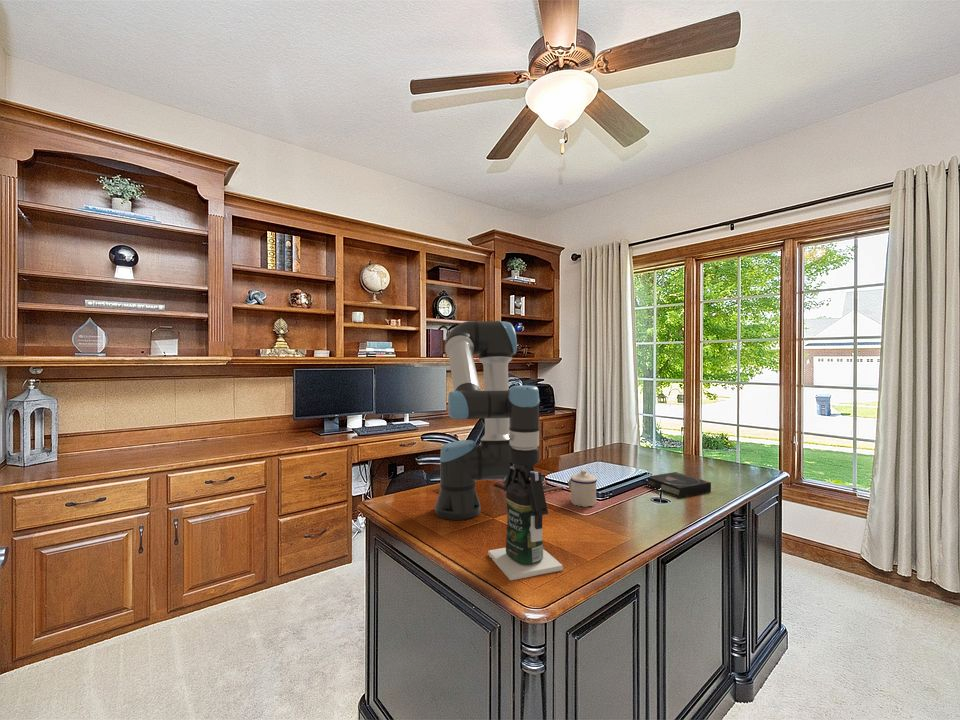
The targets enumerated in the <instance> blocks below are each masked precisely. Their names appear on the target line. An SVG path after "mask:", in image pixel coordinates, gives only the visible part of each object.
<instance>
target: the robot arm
mask: <svg viewBox="0 0 960 720" xmlns="http://www.w3.org/2000/svg"><path fill="white" fill-rule="evenodd" d="M517 346H518V341H517V333H516V329H515V327H514V326H513V324H512V323H511V322H508V321H500V320H484V321H482V320H475V321H474V320H469V321H463V322H461V323H459V324H457V325H455V326H454V327H452V329H451V330H450V331H449V332H448V334H447V336H446V338H445V341H444V351H445V355H447V357H448V358H449V365H450V366H449V367H450V371H451V372H450V373H451V374H450V375H451V381H452V390H453V391H450V392H449V393H448V395H447V407H448V408H447V410H448V411H447V412H448V416H449V418H450V419H453V420H457V419H458V420H459V419H461V420H475V419H476V420H477V419H480V420H482V419H484V435H482V437H481V438H480V444H476V442H475V441H474V440H472V439H462V440H456V441H451V442H448V443H445V444H444V445H442V447H440V458H439V462H440V468H439V469H440V471H439V472H440V474H439V475H440V479H439V480H440V482H439V483H440V485H439V487H440V488H439V493H438V496H437V499H436V502H435V506H434V513H436V514H435V515H436V516H437V517H439V518H441V519H444V520H452V521H462V520H464V521H465V520H468V519H472V518H475V517H477V516H478V515H480V513H481V502H480V500H479V497H478V493H477V490H476V481H492V480H500V481H503V480H505V485H504V488H503V491H504V492H505V493H506V492H507V487H508V486H509V484H512V483H517V482H519V483H521V484H522V485H523V488H524V489H525V490H526V492H527V493H528V499H529V502H530V505H531V509H532V513H531V514H530V515H531V542H537V541H542V539H543V516H544V515H545V516H546V515H548V514H549V510H548V506H547V500H546V494H544V490H543V486H542V479H541V473H542V472H541V471H535V465H536V464H538V463H539V462H540V449H539V446H540V402H541V399H540V393H539V392H540V391H539V388H538V387H537V386H536V385H529V384H528V385H526V384H525V385H523V384H522V385H519V384H518V385H512V386H510V387H509V383H510V382H509V363H510V362H511V361H512V360H513V356H514V355H516V353H517V350H518V348H517ZM474 355H477V356H478V360H479V362H480V363H481V364H482V365H483V367H482V368H483V390H481V386H480V382H479V377H478V373H477V368H476V363H475V359H474Z"/></svg>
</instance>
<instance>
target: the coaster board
mask: <svg viewBox="0 0 960 720" xmlns="http://www.w3.org/2000/svg"><path fill="white" fill-rule="evenodd" d="M487 555H488V556H489V558H490V559H491V558H492V559H491V561H493V562H494V563H495V565H497V567H498V568H499V570H501V571H502V572H503V573H502V574H504V575H505V576H506V577H507V578H508V580H509V581H515V580H520V579H526V578H530V577H531V578H532V577H535V576H541V575H544V574H550V573H555V572H561V571H563V569H564V567H563V564H562V563H560V561H558V560H557V559H556V558H555V557H554V556H553V555H551V554H550V553H549V552H548V551H546V549H544V548H543V559H542V560H541V561H539V562H538V563H535V564H532V565H531V564H526V565H522V564H520V563H518V562H516V561H514V560H513V559H512V558H510V557H509V556H508V555H507V553H506V547H501V548H495V549H490V550H489V549H488V554H487Z"/></svg>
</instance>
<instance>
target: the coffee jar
mask: <svg viewBox="0 0 960 720" xmlns="http://www.w3.org/2000/svg"><path fill="white" fill-rule="evenodd" d="M505 503H506V509H507V510H506V511H507V515H506V516H507V517H506V535H505V536H506V538H505V548H506V553H507V555H508V556H509V557H510V558H512V559H513V560H514V561H516V562H518V563H520V564H522V565H526V564H531V565H532V564H535V563H538V562H539V561H541V560H542V559H543V549H544V544H543V543H544V542H543V541H544V539H543V538H542V541H537V542H531V515H530V514H531V513H532V509H531V505H530V502H529V499H528V493H527V492H526V490H525V489H524V488H523V485H522V484H521V483H519V482H517V483H512V484H509V486H508V487H507V492H506V491H505Z"/></svg>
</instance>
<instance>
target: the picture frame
mask: <svg viewBox="0 0 960 720" xmlns="http://www.w3.org/2000/svg"><path fill="white" fill-rule="evenodd" d="M547 475H549V474H548V473H545V472H541V479H542V482H543V481H544V477H545V476H547ZM505 480H506V479H504V480H498V481H495V485H496V486H497V487H500V488H502V489H504V485H505ZM543 484H544V483H542V486H543ZM562 488H563V487H554V488H553V487H549V486H547V485H546V486H545V485H544V486H543V490H544V493H546V492H551V491H557V490H561V489H562ZM557 492H558V491H557Z"/></svg>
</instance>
